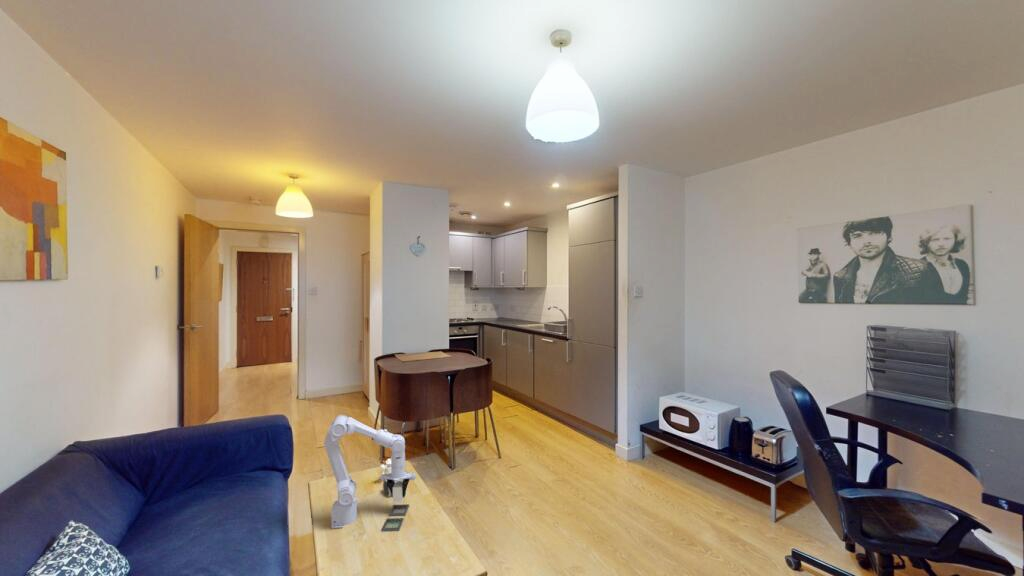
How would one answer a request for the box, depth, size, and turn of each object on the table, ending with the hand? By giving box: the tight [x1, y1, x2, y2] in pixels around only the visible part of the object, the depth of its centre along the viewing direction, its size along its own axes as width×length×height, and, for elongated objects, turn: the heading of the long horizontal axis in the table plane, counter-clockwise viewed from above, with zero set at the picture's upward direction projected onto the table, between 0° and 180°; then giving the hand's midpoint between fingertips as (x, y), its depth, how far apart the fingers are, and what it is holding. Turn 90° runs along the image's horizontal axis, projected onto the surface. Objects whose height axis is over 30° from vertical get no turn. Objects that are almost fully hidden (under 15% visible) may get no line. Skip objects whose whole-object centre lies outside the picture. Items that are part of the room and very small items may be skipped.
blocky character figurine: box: [379, 458, 391, 477], centre depth 198 cm, size 9×4×12 cm, turn 125°
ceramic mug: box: [382, 480, 403, 498], centre depth 187 cm, size 11×8×8 cm
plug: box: [392, 481, 405, 504], centre depth 170 cm, size 4×4×7 cm
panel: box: [380, 503, 410, 532], centre depth 166 cm, size 9×18×2 cm, turn 2°
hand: (398, 496), depth 170 cm, fingers closed on plug, 4 cm apart
